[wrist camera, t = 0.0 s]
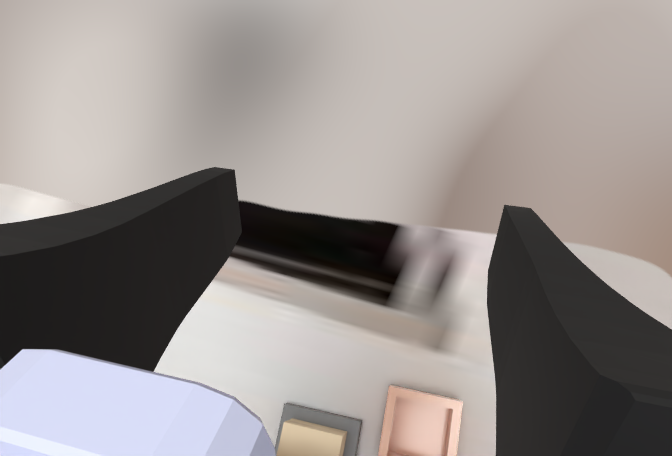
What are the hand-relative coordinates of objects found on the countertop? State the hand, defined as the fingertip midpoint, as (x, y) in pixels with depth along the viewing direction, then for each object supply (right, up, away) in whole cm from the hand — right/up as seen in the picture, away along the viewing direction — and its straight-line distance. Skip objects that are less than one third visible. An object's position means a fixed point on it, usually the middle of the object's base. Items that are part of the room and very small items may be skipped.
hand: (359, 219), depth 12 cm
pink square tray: (+7, -18, +28) cm, 33 cm away
